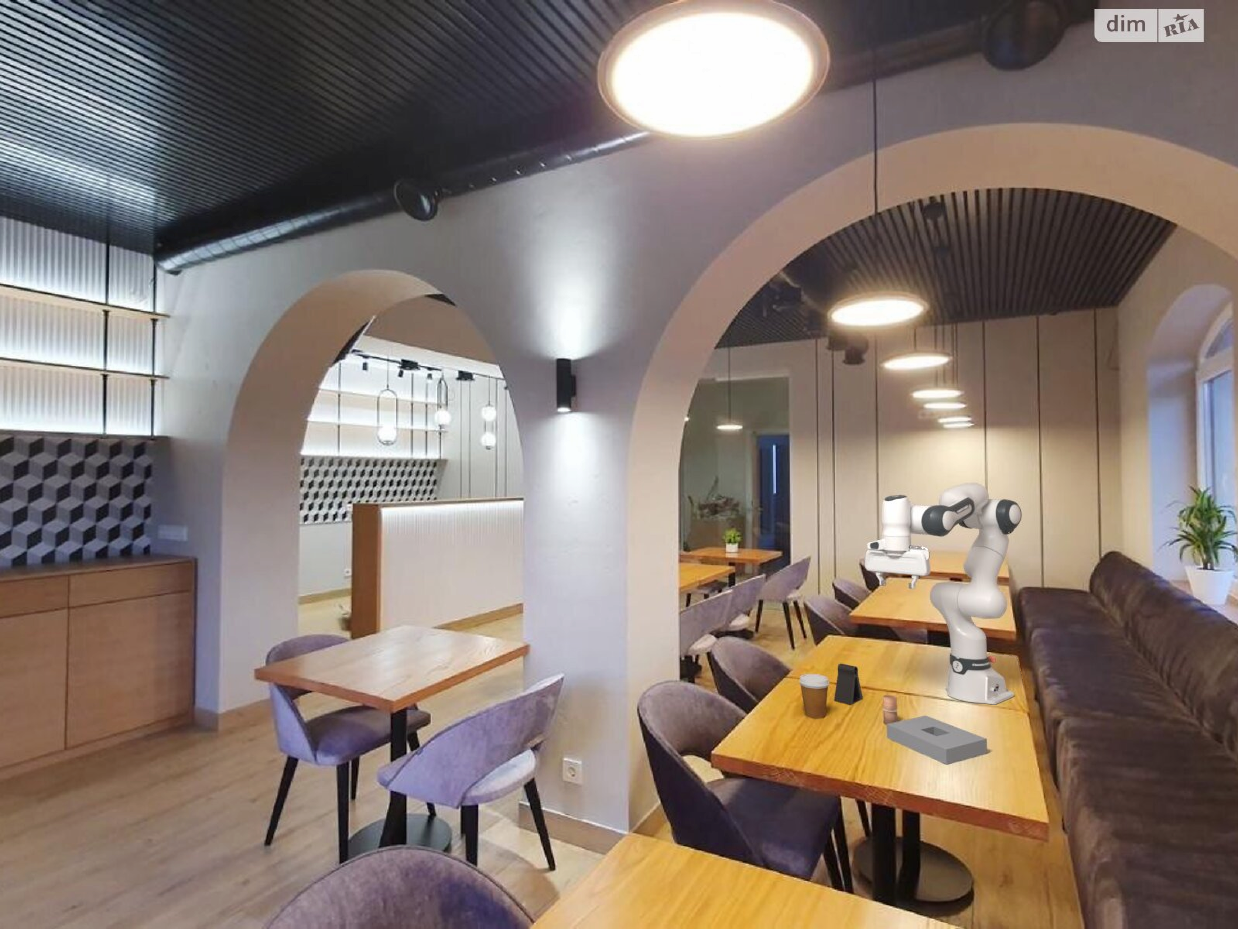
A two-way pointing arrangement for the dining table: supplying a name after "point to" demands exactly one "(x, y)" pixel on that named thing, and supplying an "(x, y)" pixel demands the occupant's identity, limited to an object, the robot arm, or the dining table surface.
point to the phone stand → (848, 685)
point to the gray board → (937, 739)
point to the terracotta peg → (889, 709)
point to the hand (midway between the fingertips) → (897, 587)
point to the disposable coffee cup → (814, 694)
